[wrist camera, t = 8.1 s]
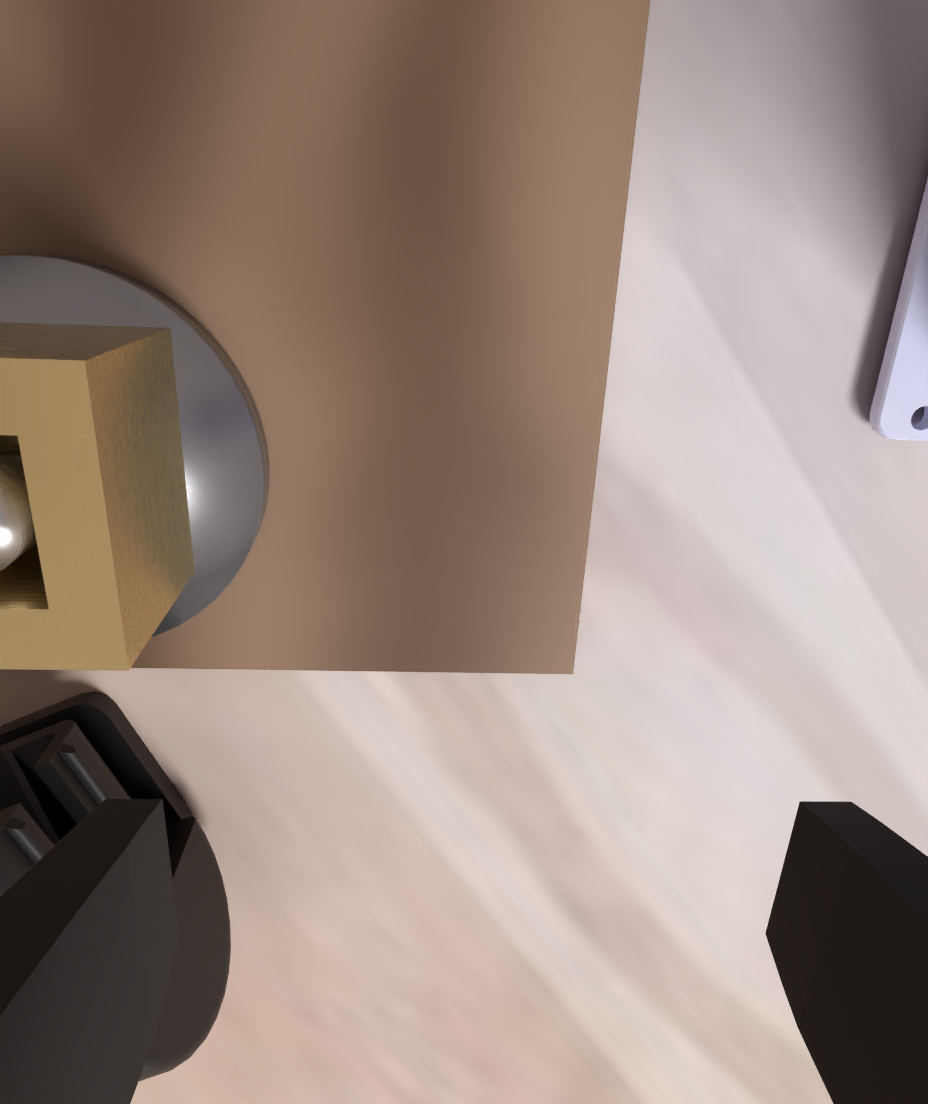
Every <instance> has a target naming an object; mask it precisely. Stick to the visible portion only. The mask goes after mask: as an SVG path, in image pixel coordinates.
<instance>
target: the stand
mask: <svg viewBox="0 0 928 1104" xmlns="http://www.w3.org/2000/svg"><path fill="white" fill-rule="evenodd" d="M0 322H15V323H44V324H72V325H100V326H129V327H157V328H170V329H171V339H172V349H173V359H174V369H175V380H176V390H177V400H178V410H179V420H180V430H181V440H182V450H183V460H184V470H185V480H186V490H187V501H188V511H189V521H190V531H191V541H192V551H193V561H194V571H195V572H194V574H193V575H192V577H191V578H190V580H189V581H188V583H187V584H186V586H185V587H184V589H183V590H182V592H181V593H180V595H179V596H178V598H177V599H176V601H175V602H174V604H173V605H172V607H171V608H170V610H169V611H168V613H167V614H166V616H165V617H164V619H163V620H162V622H161V623H160V625H159V626H158V627H157V629H156V630H155V632H154V633H153V635H152V636H151V637H153V636H156V635H159V634H161V633H163V632H166V631H168V630H170V629H173V628H175V627H177V626H179V625H181V624H182V623H184V622H186V621H187V620H189V619H191V618H192V617H194V616H196V615H197V614H198V613H200V612H201V611H202V610H203V609H205V608H206V607H207V606H208V605H210V604H211V603H212V602H213V601H214V600H215V599H216V598H217V597H218V596H219V595H220V594H221V593H222V592H223V591H224V590H225V588H226V587H227V586H228V585H229V584H230V583H231V581H232V580H233V578H234V577H235V575H236V574H237V572H238V571H239V569H240V568H241V566H242V565H243V563H244V561H245V559H246V557H247V555H248V554H249V552H250V550H251V548H252V546H253V543H254V541H255V539H256V537H257V535H258V533H259V530H260V527H261V524H262V521H263V518H264V515H265V511H266V505H267V499H268V493H269V473H270V464H269V455H268V447H267V440H266V436H265V432H264V428H263V424H262V420H261V416H260V414H259V411H258V409H257V406H256V404H255V401H254V399H253V396H252V394H251V391H250V390H249V388H248V386H247V384H246V382H245V381H244V379H243V377H242V375H241V373H240V371H239V370H238V368H237V367H236V365H235V364H234V362H233V361H232V360H231V358H230V357H229V355H228V354H227V353H226V351H225V350H224V348H223V347H222V346H221V344H220V343H219V342H218V341H217V340H216V339H215V338H214V337H213V336H212V335H211V333H210V332H209V331H208V330H207V329H206V328H205V327H204V326H203V325H202V324H201V323H200V322H199V321H198V320H197V319H195V318H194V317H193V316H192V315H191V314H190V313H189V312H187V311H186V310H185V309H184V308H183V307H182V306H180V305H179V304H178V303H176V302H175V301H173V300H172V299H170V298H169V297H167V296H166V295H164V294H163V293H162V292H160V291H159V290H157V289H156V288H154V287H152V286H150V285H148V284H146V283H144V282H142V281H140V280H138V279H136V278H135V277H133V276H131V275H128V274H126V273H123V272H121V271H118V270H115V269H113V268H110V267H107V266H105V265H102V264H98V263H94V262H90V261H86V260H82V259H78V258H73V257H65V256H56V255H47V254H36V255H7V256H0ZM36 543H37V541H36V535H35V530H34V524H33V518H32V513H31V507H30V502H29V496H28V491H27V485H26V480H25V474H24V469H23V463H22V457H21V452H20V446H19V441H18V436H14V435H0V571H1V570H3V569H4V568H6V567H7V566H8V565H10V564H11V563H12V562H13V561H15V560H16V559H17V558H18V557H19V556H21V555H22V554H23V553H24V552H26V551H27V550H28V549H29V548H31V547H32V546H33V545H34V544H36Z"/></svg>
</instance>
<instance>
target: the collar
mask: <svg viewBox="0 0 928 1104" xmlns="http://www.w3.org/2000/svg"><path fill="white" fill-rule="evenodd" d="M0 435H14V436H18V441H19V446H20V452H21V457H22V463H23V469H24V474H25V480H26V485H27V491H28V496H29V502H30V507H31V513H32V518H33V524H34V530H35V535H36V541H37V543H36V544H34V545H33V546H32V547H31V548H29V549H28V550H27V551H26V552H24V553H23V554H22V555H21V556H19V557H18V558H17V559H16V560H15V561H13V562H12V563H11V564H10V565H8V566H7V567H6V568H4V569H3V570H1V571H0V669H22V670H129V669H130V668H131V666H132V665H133V663H134V662H135V660H136V659H137V657H138V656H139V654H140V653H141V651H142V650H143V648H144V647H145V645H146V644H147V642H148V641H149V639H150V638H151V636H152V635H153V633H154V632H155V630H156V629H157V627H158V626H159V625H160V623H161V622H162V620H163V619H164V617H165V616H166V614H167V613H168V611H169V610H170V608H171V607H172V605H173V604H174V602H175V601H176V599H177V598H178V596H179V595H180V593H181V592H182V590H183V589H184V587H185V586H186V584H187V583H188V581H189V580H190V578H191V577H192V575H193V574H194V572H195V571H194V561H193V551H192V541H191V531H190V521H189V511H188V501H187V490H186V480H185V470H184V460H183V450H182V440H181V430H180V420H179V410H178V400H177V390H176V380H175V369H174V359H173V349H172V339H171V329H170V328H157V327H129V326H100V325H72V324H44V323H15V322H0Z"/></svg>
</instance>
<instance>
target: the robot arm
mask: <svg viewBox="0 0 928 1104" xmlns="http://www.w3.org/2000/svg"><path fill="white" fill-rule="evenodd" d="M920 407H924V416H923V418H922V420H921V421H920V422H919V423H917V424H916V425H913V426H912V425H911V417H912V415H913V413H914V412H915V411H916V410H917V409H918V408H920ZM869 422H870V424H871V427H872V429H873V430H874V431H875V432H876V433H877V434H879V435H881V436H883V437H886V438H889V439H893V440H921V441H928V178H927V182H926V186H925V191H924V195H923V199H922V203H921V207H920V211H919V215H918V219H917V223H916V227H915V231H914V235H913V239H912V244H911V248H910V252H909V256H908V260H907V264H906V268H905V272H904V276H903V280H902V284H901V288H900V292H899V297H898V301H897V305H896V309H895V313H894V317H893V321H892V325H891V329H890V333H889V337H888V341H887V345H886V350H885V354H884V358H883V362H882V366H881V370H880V374H879V378H878V382H877V386H876V390H875V394H874V398H873V403H872V407H871V411H870V421H869ZM766 936H767V939H768V942H769V945H770V948H771V951H772V954H773V958H774V961H775V964H776V967H777V970H778V973H779V976H780V979H781V982H782V985H783V988H784V990H785V993H786V996H787V999H788V1001H789V1004H790V1007H791V1010H792V1012H793V1015H794V1018H795V1021H796V1024H797V1026H798V1029H799V1031H800V1033H801V1035H802V1037H803V1039H804V1042H805V1044H806V1046H807V1048H808V1050H809V1052H810V1055H811V1057H812V1059H813V1061H814V1063H815V1065H816V1067H817V1069H818V1072H819V1074H820V1076H821V1078H822V1080H823V1082H824V1084H825V1086H826V1089H827V1091H828V1093H829V1095H830V1097H831V1099H832V1101H833V1103H834V1104H928V857H927V856H926V855H925V854H923V853H922V852H921V851H919V850H918V849H916V848H915V847H914V846H912V845H911V844H910V843H908V842H907V841H906V840H904V839H903V838H902V837H900V836H899V835H898V834H896V833H895V832H894V831H892V830H891V829H889V828H888V827H887V826H885V825H884V824H883V823H881V822H880V821H878V820H877V819H875V818H874V817H873V816H871V815H870V814H868V813H867V812H865V811H864V810H862V809H861V808H860V807H858V806H857V805H855V804H854V803H852V802H800V803H799V807H798V811H797V815H796V819H795V822H794V826H793V830H792V834H791V838H790V842H789V845H788V849H787V853H786V857H785V861H784V865H783V868H782V872H781V876H780V880H779V884H778V888H777V891H776V895H775V899H774V903H773V907H772V911H771V914H770V918H769V922H768V926H767V930H766ZM179 939H180V935H179V927H178V919H177V911H176V903H175V895H174V887H173V879H172V871H171V863H170V855H169V847H168V839H167V831H166V823H165V815H164V807H163V799H105V800H104V801H103V802H102V803H101V804H100V805H99V806H97V807H96V808H95V809H94V810H93V811H92V812H91V813H90V814H88V815H87V816H86V817H85V818H84V819H83V820H82V821H81V822H80V823H78V824H77V825H76V826H75V827H74V828H73V829H72V830H71V831H70V832H69V833H68V834H67V835H66V836H64V837H63V838H62V839H61V840H60V841H59V842H58V843H57V844H56V845H55V846H54V847H53V848H52V849H51V850H49V851H48V852H47V853H46V854H45V855H44V856H43V857H42V858H41V859H40V860H39V861H38V862H37V863H36V864H34V865H33V866H32V867H31V868H30V869H29V870H28V871H27V872H26V873H25V874H24V875H23V876H22V877H21V878H19V879H18V880H17V881H16V882H15V883H14V884H13V885H12V886H11V887H10V888H9V889H8V890H6V891H5V892H4V893H3V894H2V895H1V896H0V1104H130V1103H131V1100H132V1097H133V1094H134V1092H135V1089H136V1086H137V1084H138V1081H139V1078H140V1075H141V1073H142V1070H143V1067H144V1065H145V1062H146V1059H147V1056H148V1053H149V1051H150V1048H151V1045H152V1042H153V1039H154V1037H155V1033H156V1029H157V1026H158V1022H159V1018H160V1014H161V1010H162V1007H163V1003H164V999H165V995H166V992H167V988H168V984H169V979H170V975H171V971H172V967H173V963H174V959H175V955H176V951H177V947H178V943H179Z"/></svg>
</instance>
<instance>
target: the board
mask: <svg viewBox="0 0 928 1104" xmlns="http://www.w3.org/2000/svg"><path fill="white" fill-rule="evenodd" d="M649 5H650V0H0V256H7V255H36V254H47V255H56V256H65V257H73V258H78V259H82V260H86V261H90V262H94V263H98V264H102V265H105V266H107V267H110V268H113V269H115V270H118V271H121V272H123V273H126V274H128V275H131V276H133V277H135V278H136V279H138V280H140V281H142V282H144V283H146V284H148V285H150V286H152V287H154V288H156V289H157V290H159V291H160V292H162V293H163V294H164V295H166V296H167V297H169V298H170V299H172V300H173V301H175V302H176V303H178V304H179V305H180V306H182V307H183V308H184V309H185V310H186V311H187V312H189V313H190V314H191V315H192V316H193V317H194V318H195V319H197V320H198V321H199V322H200V323H201V324H202V325H203V326H204V327H205V328H206V329H207V330H208V331H209V332H210V333H211V335H212V336H213V337H214V338H215V339H216V340H217V341H218V342H219V343H220V344H221V346H222V347H223V348H224V350H225V351H226V353H227V354H228V355H229V357H230V358H231V360H232V361H233V362H234V364H235V365H236V367H237V368H238V370H239V371H240V373H241V375H242V377H243V379H244V381H245V382H246V384H247V386H248V388H249V390H250V391H251V394H252V396H253V399H254V401H255V404H256V406H257V409H258V411H259V414H260V416H261V420H262V424H263V428H264V432H265V436H266V440H267V447H268V455H269V464H270V473H269V493H268V499H267V505H266V511H265V515H264V518H263V521H262V524H261V527H260V530H259V533H258V535H257V537H256V539H255V541H254V543H253V546H252V548H251V550H250V552H249V554H248V555H247V557H246V559H245V561H244V563H243V565H242V566H241V568H240V569H239V571H238V572H237V574H236V575H235V577H234V578H233V580H232V581H231V583H230V584H229V585H228V586H227V587H226V588H225V590H224V591H223V592H222V593H221V594H220V595H219V596H218V597H217V598H216V599H215V600H214V601H213V602H212V603H211V604H210V605H208V606H207V607H206V608H205V609H203V610H202V611H201V612H200V613H198V614H197V615H196V616H194V617H192V618H191V619H189V620H187V621H186V622H184V623H182V624H181V625H179V626H177V627H175V628H173V629H170V630H168V631H166V632H163V633H161V634H159V635H156V636H153V637H151V638H150V639H149V641H148V642H147V644H146V645H145V647H144V648H143V650H142V651H141V653H140V654H139V656H138V657H137V659H136V660H135V662H134V663H133V665H132V666H131V668H188V669H257V670H327V671H397V672H466V673H536V674H573V669H574V660H575V651H576V642H577V634H578V625H579V616H580V607H581V599H582V590H583V581H584V573H585V564H586V555H587V546H588V538H589V529H590V520H591V511H592V503H593V494H594V485H595V476H596V468H597V459H598V450H599V442H600V433H601V424H602V415H603V407H604V398H605V389H606V380H607V372H608V363H609V354H610V345H611V337H612V328H613V319H614V311H615V302H616V293H617V284H618V276H619V267H620V258H621V249H622V241H623V232H624V223H625V215H626V206H627V197H628V188H629V180H630V171H631V162H632V153H633V145H634V136H635V127H636V118H637V110H638V101H639V92H640V84H641V75H642V66H643V57H644V49H645V40H646V31H647V22H648V14H649Z"/></svg>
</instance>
